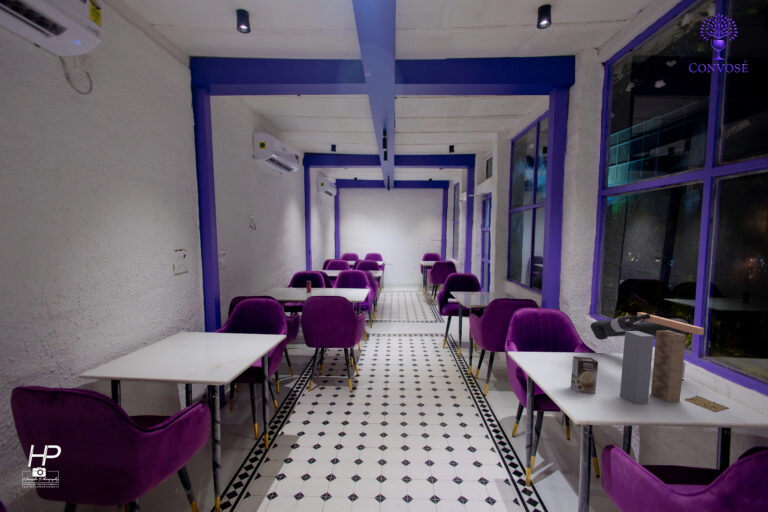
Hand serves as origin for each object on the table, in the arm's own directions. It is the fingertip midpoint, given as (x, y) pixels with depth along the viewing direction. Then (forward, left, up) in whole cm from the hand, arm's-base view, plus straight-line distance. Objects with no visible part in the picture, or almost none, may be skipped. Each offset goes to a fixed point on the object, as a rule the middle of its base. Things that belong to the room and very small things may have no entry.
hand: (652, 315), depth 167 cm
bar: (-2, +7, -3) cm, 8 cm away
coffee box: (+36, +5, -38) cm, 53 cm away
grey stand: (+17, +14, -38) cm, 43 cm away
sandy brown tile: (-16, +15, -38) cm, 44 cm away
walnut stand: (-1, +10, -38) cm, 39 cm away
